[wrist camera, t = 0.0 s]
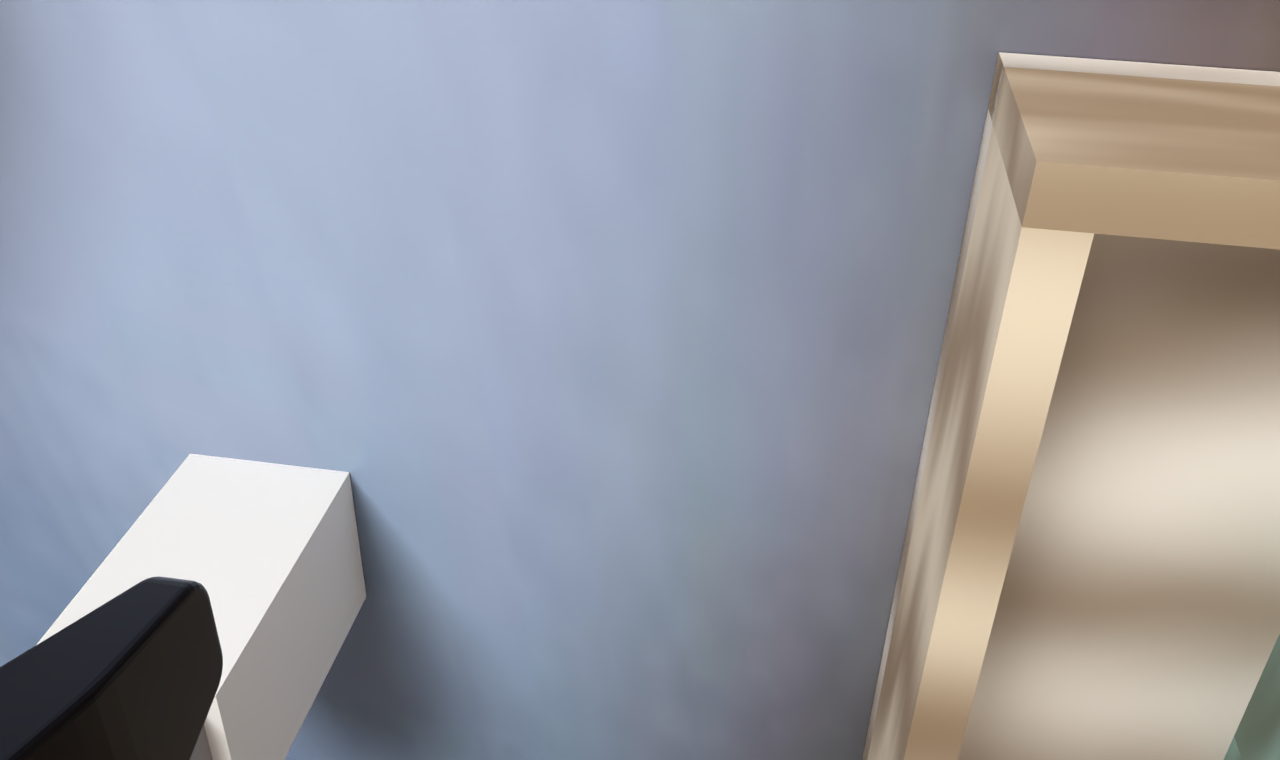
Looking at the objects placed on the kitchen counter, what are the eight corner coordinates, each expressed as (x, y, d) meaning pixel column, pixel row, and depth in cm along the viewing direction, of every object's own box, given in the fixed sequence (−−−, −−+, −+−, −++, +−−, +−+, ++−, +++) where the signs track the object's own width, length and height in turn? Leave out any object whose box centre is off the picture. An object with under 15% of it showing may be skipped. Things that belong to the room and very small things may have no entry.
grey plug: (366, 597, 30) (227, 873, 23) (218, 577, 30) (40, 843, 24) (349, 472, 28) (190, 738, 21) (190, 453, 28) (-15, 707, 22)
